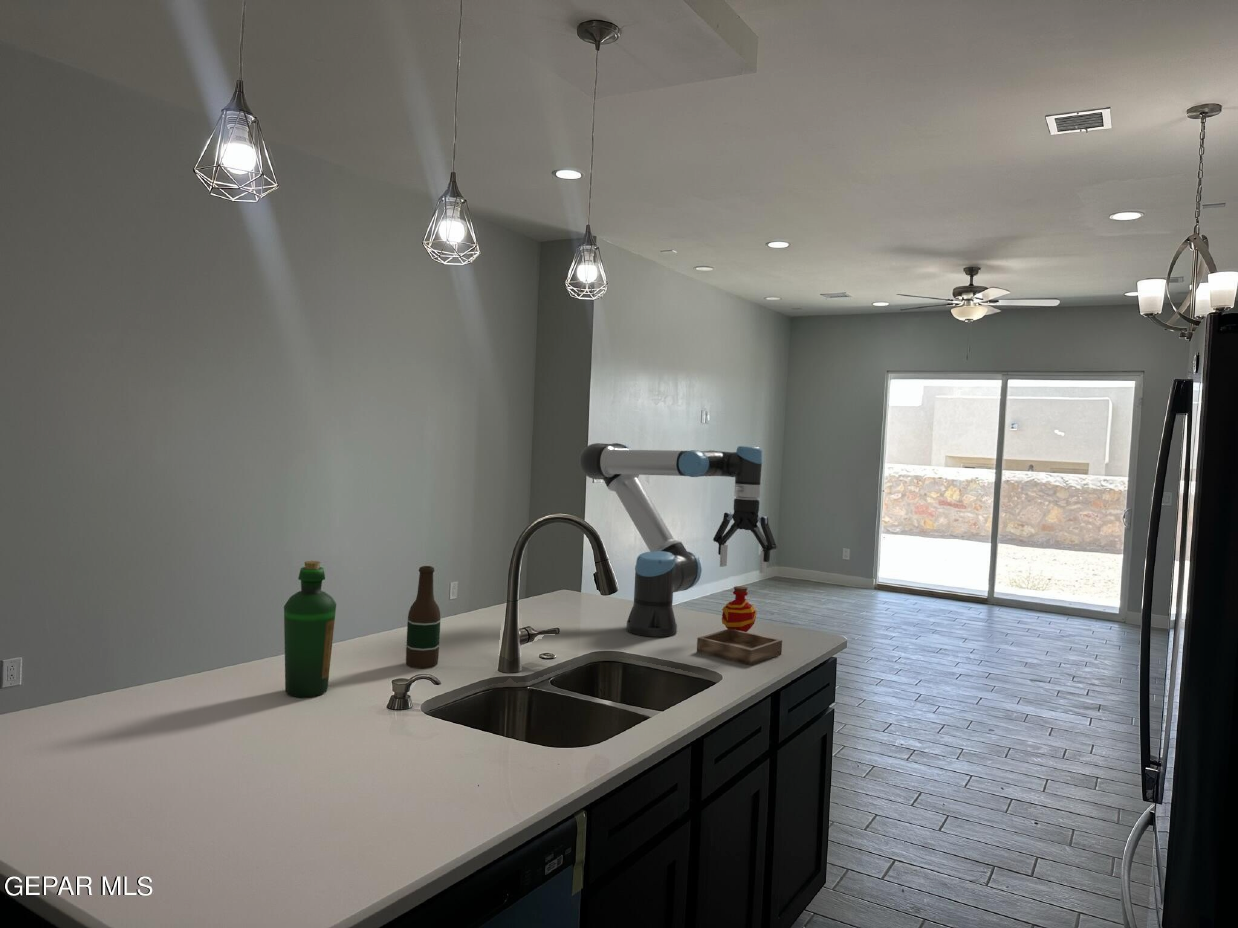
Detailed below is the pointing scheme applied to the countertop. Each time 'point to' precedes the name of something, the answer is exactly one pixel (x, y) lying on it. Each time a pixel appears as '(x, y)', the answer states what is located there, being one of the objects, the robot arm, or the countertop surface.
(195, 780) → the countertop surface
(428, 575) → the beer bottle
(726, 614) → the potion bottle
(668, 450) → the robot arm
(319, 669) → the bottle
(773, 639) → the walnut tray
